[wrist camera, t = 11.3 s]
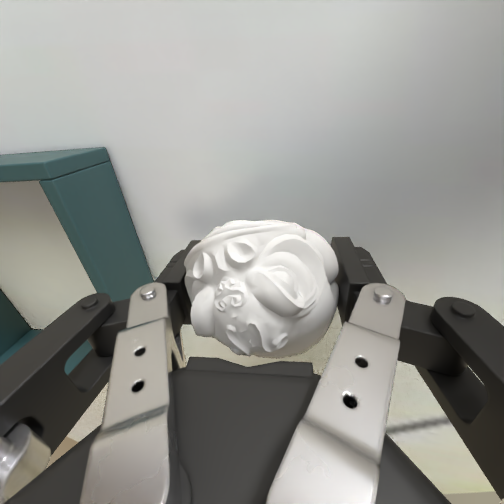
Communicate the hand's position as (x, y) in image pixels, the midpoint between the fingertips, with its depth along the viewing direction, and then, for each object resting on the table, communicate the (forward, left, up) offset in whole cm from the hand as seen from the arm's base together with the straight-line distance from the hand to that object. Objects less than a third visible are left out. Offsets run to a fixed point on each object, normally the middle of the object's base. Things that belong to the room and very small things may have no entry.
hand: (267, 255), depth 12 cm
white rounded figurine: (0, 0, -1) cm, 1 cm away
